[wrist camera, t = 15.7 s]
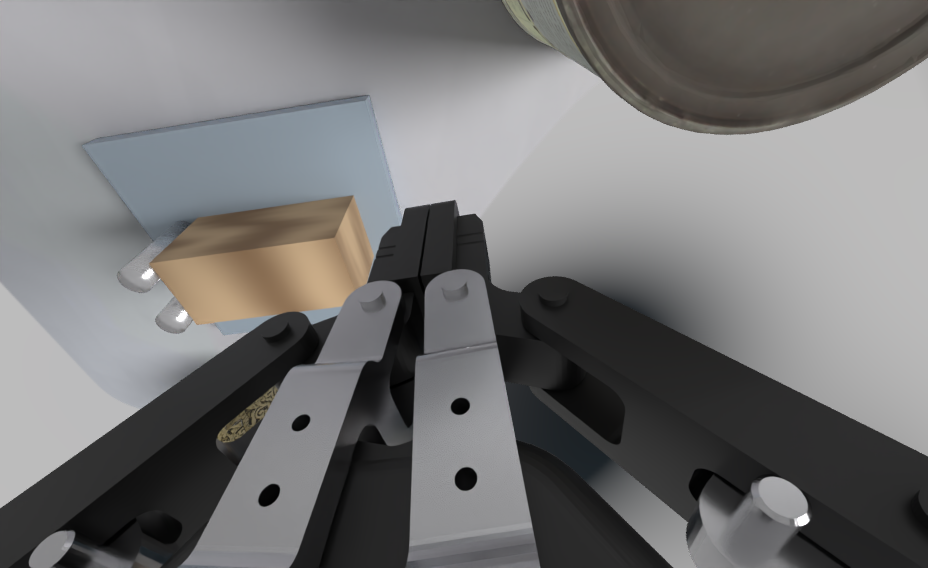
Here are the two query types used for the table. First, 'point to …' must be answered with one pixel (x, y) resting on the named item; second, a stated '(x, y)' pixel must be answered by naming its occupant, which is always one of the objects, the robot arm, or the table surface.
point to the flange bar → (268, 260)
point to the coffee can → (734, 54)
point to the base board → (254, 171)
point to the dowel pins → (156, 280)
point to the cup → (247, 417)
